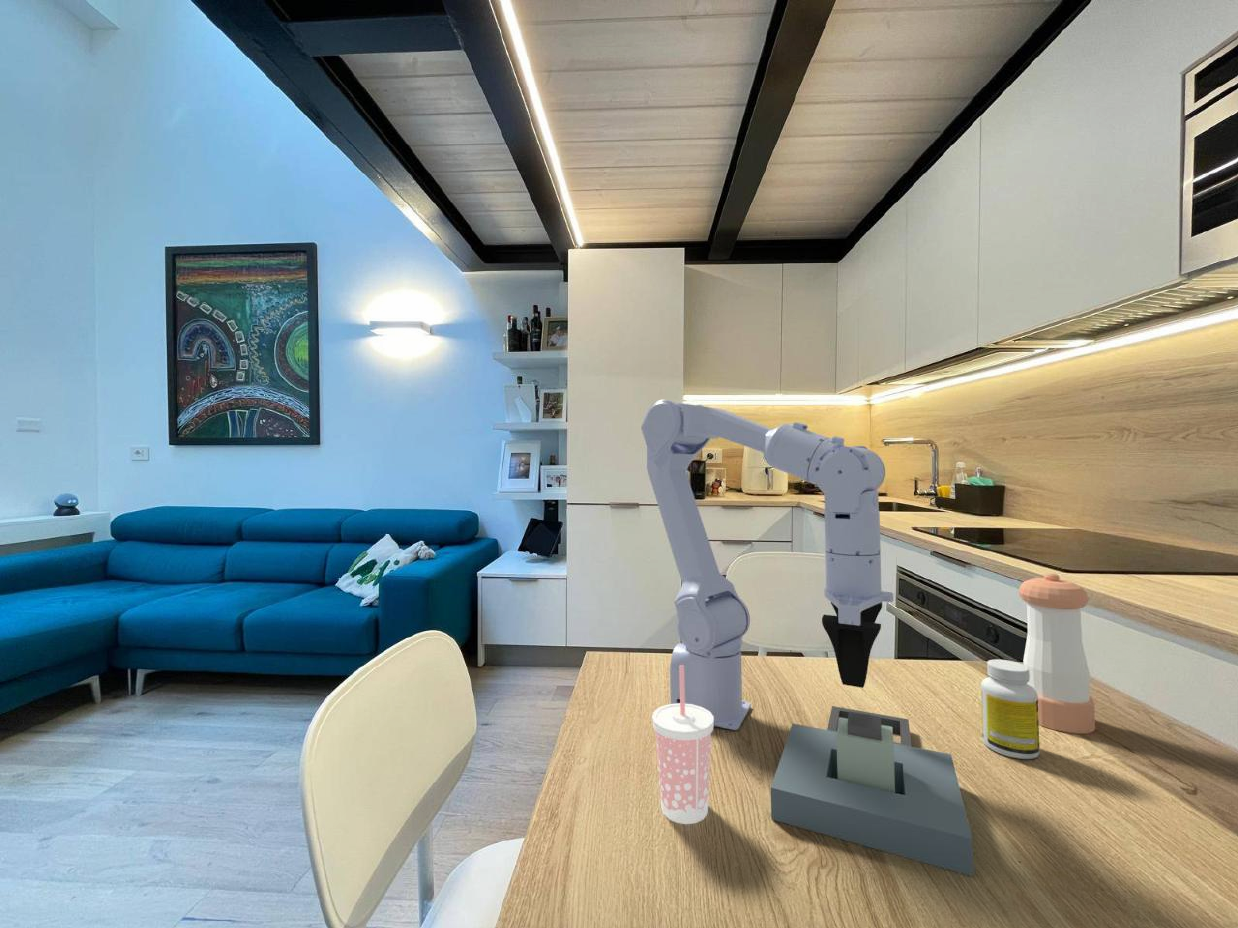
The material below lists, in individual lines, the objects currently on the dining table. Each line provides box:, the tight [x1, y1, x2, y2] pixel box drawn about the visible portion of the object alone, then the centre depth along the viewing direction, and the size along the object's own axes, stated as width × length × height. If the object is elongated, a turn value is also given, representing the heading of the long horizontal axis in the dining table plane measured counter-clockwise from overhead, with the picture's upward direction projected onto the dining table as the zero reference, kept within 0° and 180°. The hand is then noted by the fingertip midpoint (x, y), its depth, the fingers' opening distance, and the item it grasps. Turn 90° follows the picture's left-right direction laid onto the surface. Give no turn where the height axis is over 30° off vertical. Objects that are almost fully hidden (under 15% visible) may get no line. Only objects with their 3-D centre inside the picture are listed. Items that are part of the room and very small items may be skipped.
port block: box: [770, 723, 975, 878], centre depth 51 cm, size 16×14×3 cm
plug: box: [836, 712, 896, 793], centre depth 51 cm, size 5×4×8 cm
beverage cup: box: [651, 665, 715, 825], centre depth 51 cm, size 6×6×14 cm
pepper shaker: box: [1018, 572, 1096, 735], centre depth 67 cm, size 7×7×19 cm
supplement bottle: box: [980, 659, 1040, 760], centre depth 61 cm, size 5×5×10 cm
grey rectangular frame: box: [826, 705, 913, 747], centre depth 63 cm, size 9×8×2 cm
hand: (855, 672), depth 58 cm, fingers open, 7 cm apart
